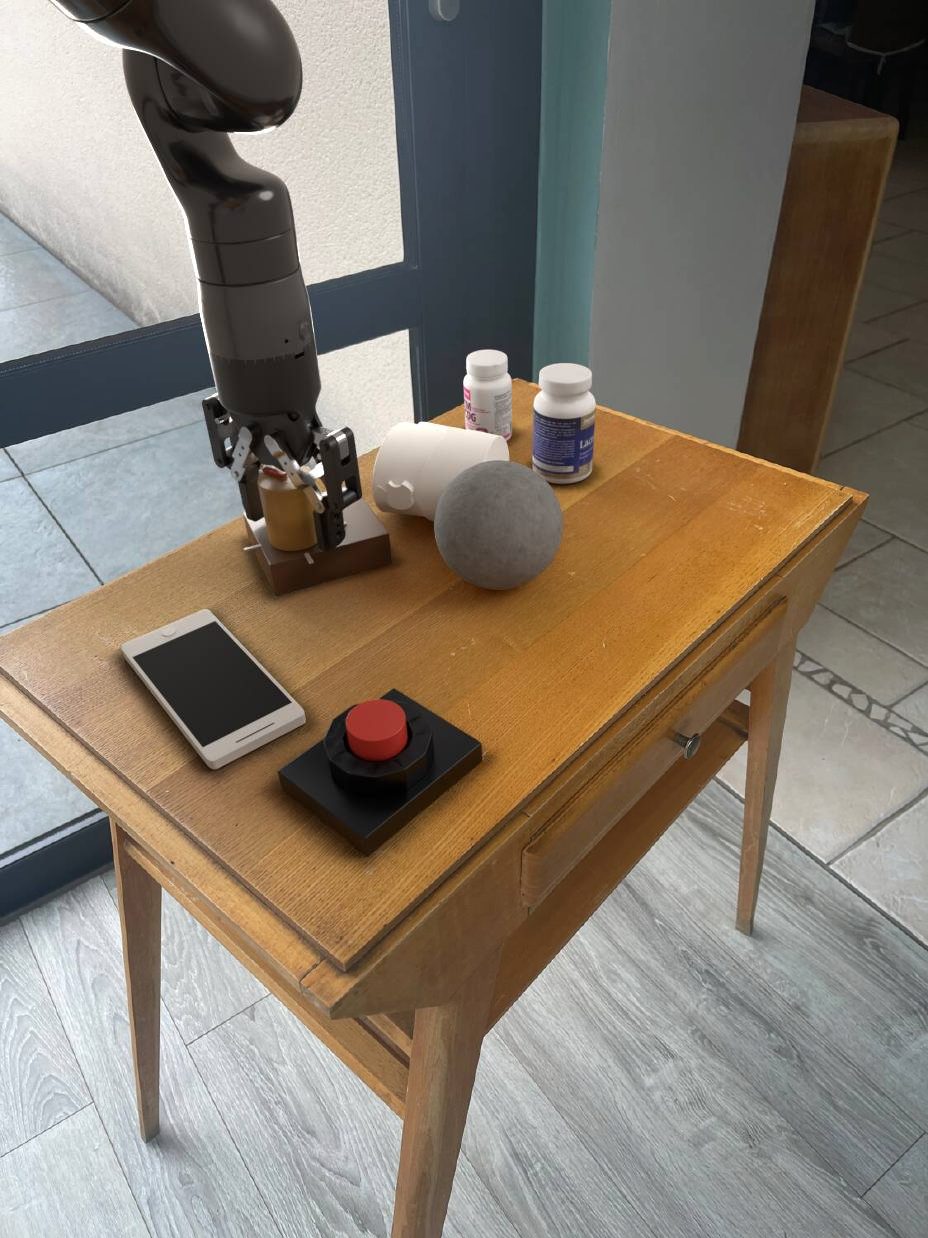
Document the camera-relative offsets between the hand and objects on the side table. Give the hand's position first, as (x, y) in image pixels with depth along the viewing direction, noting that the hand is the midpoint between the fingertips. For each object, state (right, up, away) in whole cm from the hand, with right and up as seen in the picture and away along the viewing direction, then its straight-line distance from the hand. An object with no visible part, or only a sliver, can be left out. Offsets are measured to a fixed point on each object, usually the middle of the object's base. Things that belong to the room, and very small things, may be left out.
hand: (295, 531), depth 76 cm
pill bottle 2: (+23, +7, +13) cm, 28 cm away
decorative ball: (+17, -4, 0) cm, 17 cm away
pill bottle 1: (+16, +11, +20) cm, 28 cm away
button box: (+9, -17, -17) cm, 25 cm away
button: (+8, -15, -19) cm, 25 cm away
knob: (0, 0, 0) cm, 1 cm away
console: (+1, -1, +4) cm, 4 cm away
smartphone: (-4, -12, -9) cm, 16 cm away
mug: (+13, +3, +9) cm, 16 cm away
